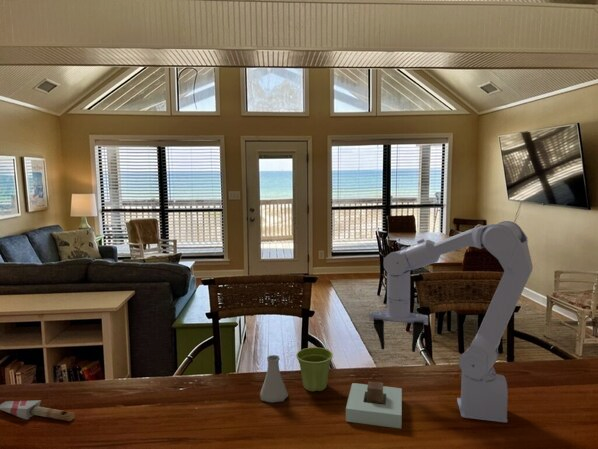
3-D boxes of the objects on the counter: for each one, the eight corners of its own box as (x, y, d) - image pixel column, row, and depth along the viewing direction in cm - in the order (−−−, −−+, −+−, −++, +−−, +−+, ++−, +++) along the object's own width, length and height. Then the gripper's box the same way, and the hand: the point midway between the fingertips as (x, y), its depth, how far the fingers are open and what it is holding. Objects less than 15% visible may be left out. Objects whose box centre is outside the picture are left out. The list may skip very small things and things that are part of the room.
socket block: (401, 400, 99) (401, 388, 98) (401, 428, 87) (401, 415, 87) (352, 394, 102) (352, 382, 101) (345, 421, 90) (345, 408, 90)
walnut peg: (382, 407, 96) (383, 382, 95) (382, 414, 92) (382, 389, 92) (368, 405, 97) (368, 381, 96) (367, 413, 93) (367, 388, 93)
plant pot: (319, 399, 99) (319, 365, 99) (289, 388, 105) (289, 356, 104) (339, 384, 107) (339, 352, 106) (310, 374, 112) (310, 344, 112)
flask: (290, 389, 105) (289, 352, 104) (286, 404, 97) (285, 364, 97) (262, 388, 105) (261, 351, 104) (256, 403, 98) (255, 363, 97)
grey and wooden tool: (7, 394, 98) (78, 407, 94) (8, 405, 98) (78, 418, 94) (-8, 402, 94) (64, 416, 90) (-7, 413, 95) (65, 427, 90)
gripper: (427, 295, 105) (426, 345, 107) (370, 292, 109) (370, 341, 110) (429, 302, 99) (428, 356, 100) (368, 299, 102) (368, 351, 104)
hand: (398, 349), depth 105 cm, fingers open, 7 cm apart
